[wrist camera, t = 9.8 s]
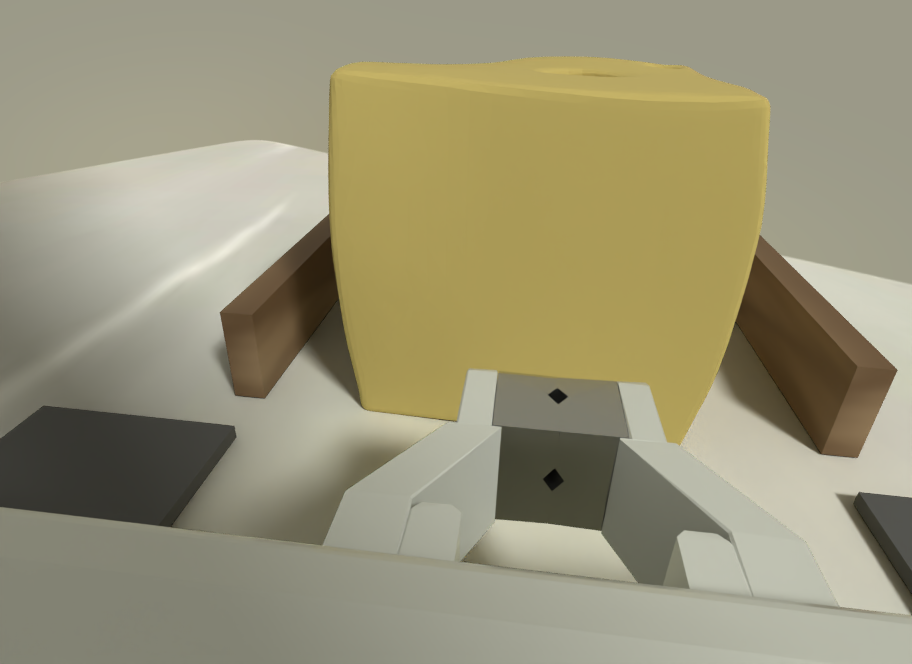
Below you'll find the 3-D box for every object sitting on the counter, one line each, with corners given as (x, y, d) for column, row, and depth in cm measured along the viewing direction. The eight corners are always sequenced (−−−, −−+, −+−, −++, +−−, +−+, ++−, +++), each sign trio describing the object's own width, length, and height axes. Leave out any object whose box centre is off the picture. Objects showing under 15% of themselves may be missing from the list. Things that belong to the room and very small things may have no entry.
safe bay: (235, 395, 19) (219, 312, 17) (348, 258, 30) (344, 200, 28) (857, 457, 17) (897, 369, 15) (733, 286, 28) (750, 225, 26)
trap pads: (-217, 627, 11) (-228, 614, 11) (47, 416, 18) (43, 405, 17) (1512, 897, 8) (1537, 886, 8) (1106, 531, 15) (1115, 519, 14)
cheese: (416, 287, 27) (414, 48, 22) (656, 310, 26) (709, 59, 21) (340, 421, 18) (310, 66, 13) (704, 468, 16) (817, 88, 12)
